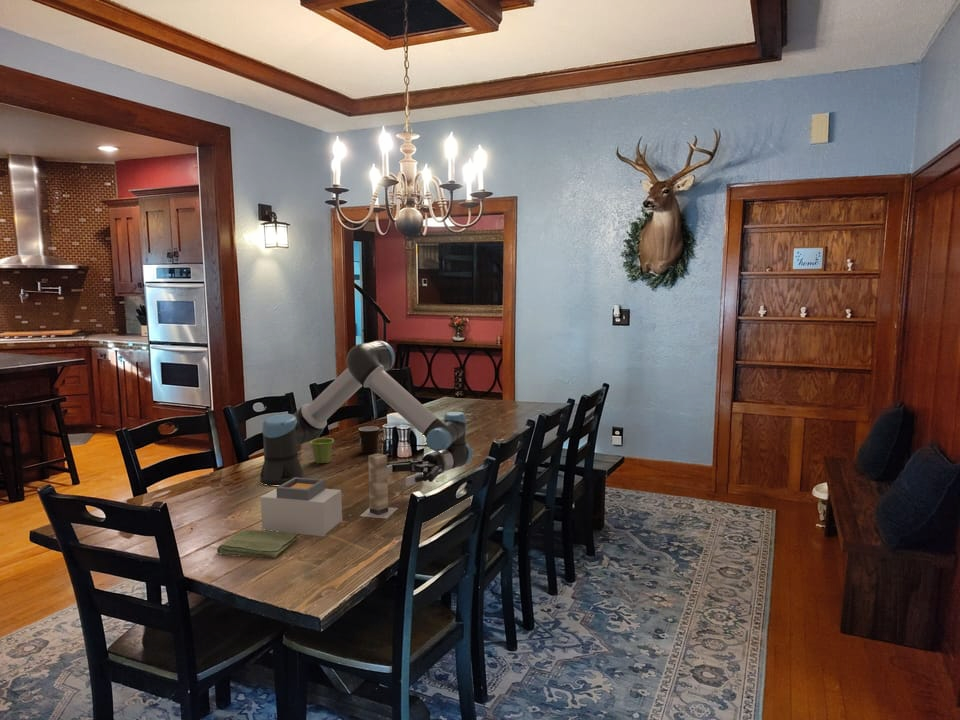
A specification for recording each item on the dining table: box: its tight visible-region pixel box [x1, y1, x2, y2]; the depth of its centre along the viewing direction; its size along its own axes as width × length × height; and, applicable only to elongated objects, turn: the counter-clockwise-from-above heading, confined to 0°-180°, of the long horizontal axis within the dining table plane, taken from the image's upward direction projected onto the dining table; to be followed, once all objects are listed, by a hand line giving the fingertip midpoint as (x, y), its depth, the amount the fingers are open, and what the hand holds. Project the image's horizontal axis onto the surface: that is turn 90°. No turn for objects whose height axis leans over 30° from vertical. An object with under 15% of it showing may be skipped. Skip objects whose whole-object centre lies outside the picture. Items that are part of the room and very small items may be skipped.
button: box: [290, 483, 314, 489], centre depth 183 cm, size 6×6×3 cm
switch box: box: [260, 477, 343, 537], centre depth 183 cm, size 20×11×13 cm, turn 76°
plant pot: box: [309, 437, 335, 464], centre depth 250 cm, size 9×9×9 cm
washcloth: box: [216, 529, 298, 559], centre depth 169 cm, size 13×18×3 cm
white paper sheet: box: [359, 506, 399, 520], centre depth 193 cm, size 9×9×1 cm
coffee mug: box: [358, 425, 380, 454], centre depth 266 cm, size 12×9×10 cm
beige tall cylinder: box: [367, 452, 389, 515], centre depth 192 cm, size 4×4×18 cm
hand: (391, 477), depth 196 cm, fingers open, 13 cm apart
